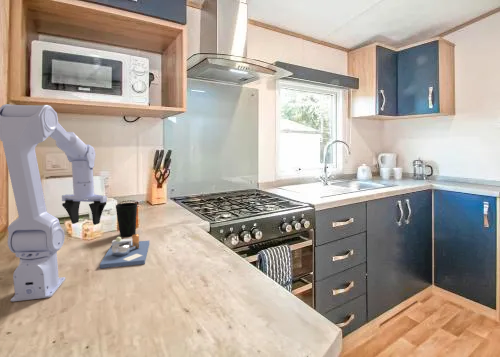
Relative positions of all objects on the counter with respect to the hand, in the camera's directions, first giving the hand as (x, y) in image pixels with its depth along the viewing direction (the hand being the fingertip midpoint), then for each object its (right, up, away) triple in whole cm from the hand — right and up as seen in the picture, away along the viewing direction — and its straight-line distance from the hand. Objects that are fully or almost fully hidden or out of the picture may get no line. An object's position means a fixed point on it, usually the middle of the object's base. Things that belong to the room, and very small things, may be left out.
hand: (85, 223), depth 92 cm
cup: (+5, -8, +19) cm, 21 cm away
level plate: (+14, -10, -1) cm, 17 cm away
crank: (+14, -9, -2) cm, 17 cm away
